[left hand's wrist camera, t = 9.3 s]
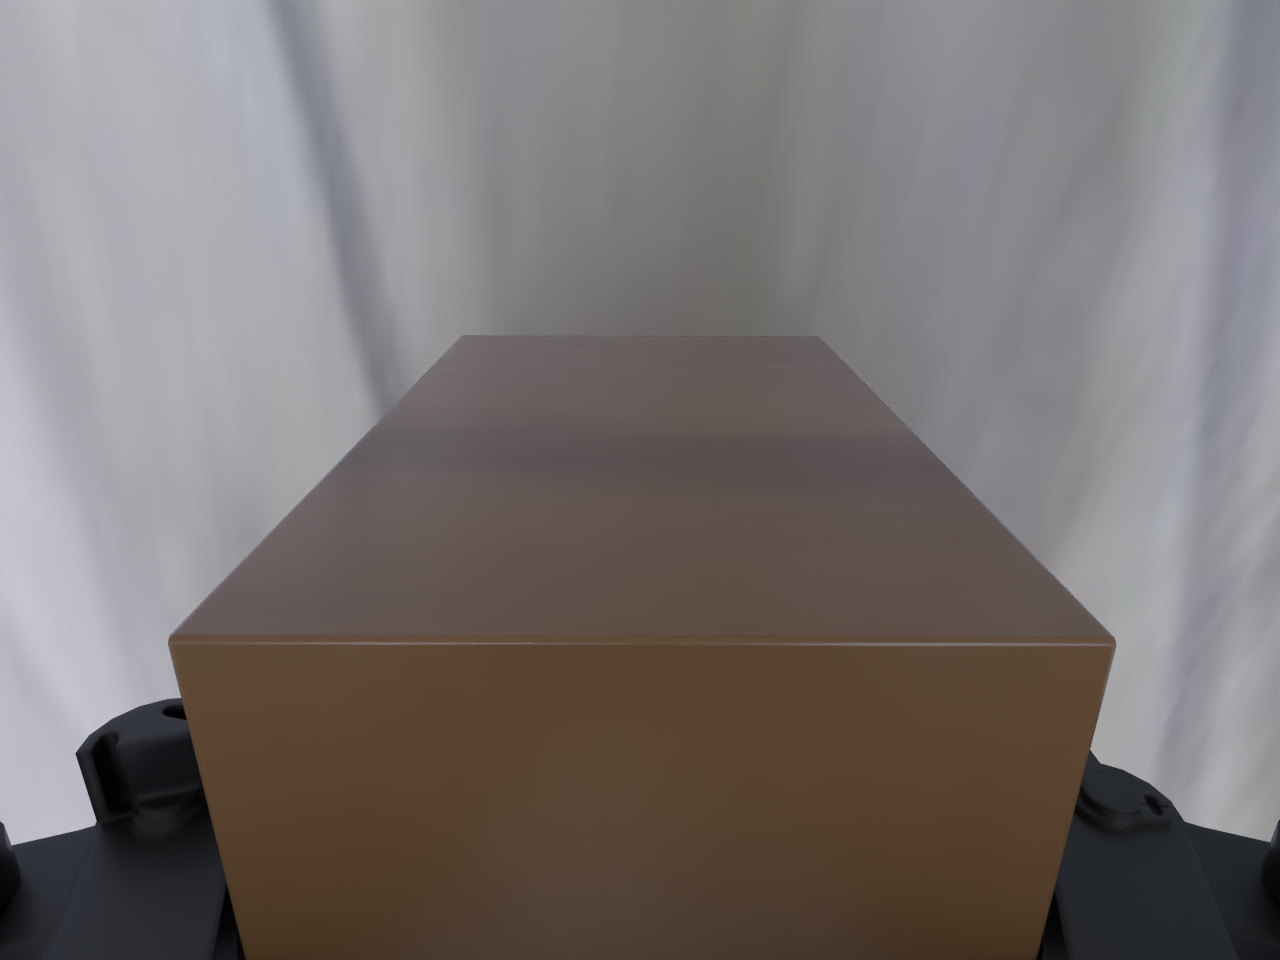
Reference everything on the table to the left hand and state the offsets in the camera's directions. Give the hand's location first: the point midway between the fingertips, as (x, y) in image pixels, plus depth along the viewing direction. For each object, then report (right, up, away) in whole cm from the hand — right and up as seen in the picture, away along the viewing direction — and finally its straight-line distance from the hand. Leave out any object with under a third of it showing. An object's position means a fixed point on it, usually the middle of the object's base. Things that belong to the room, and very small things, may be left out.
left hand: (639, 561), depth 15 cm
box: (0, -8, +4) cm, 8 cm away
